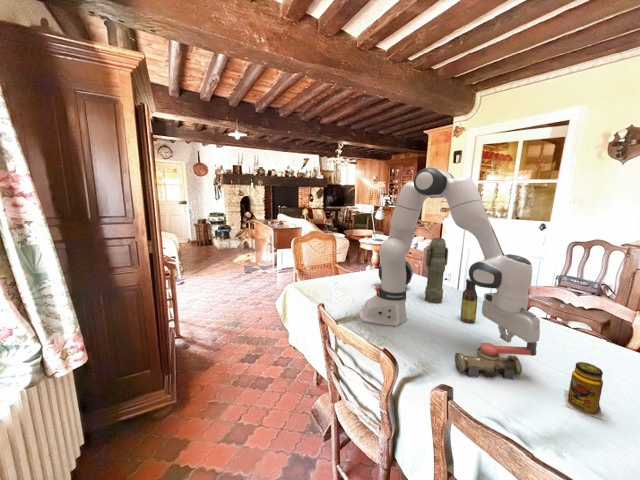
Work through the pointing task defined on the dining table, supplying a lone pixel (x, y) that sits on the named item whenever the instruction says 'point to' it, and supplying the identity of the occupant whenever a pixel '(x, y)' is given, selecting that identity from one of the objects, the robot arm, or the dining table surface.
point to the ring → (408, 272)
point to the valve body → (488, 365)
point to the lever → (508, 349)
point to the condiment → (585, 389)
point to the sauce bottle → (469, 302)
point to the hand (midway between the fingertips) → (505, 340)
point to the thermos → (435, 270)
